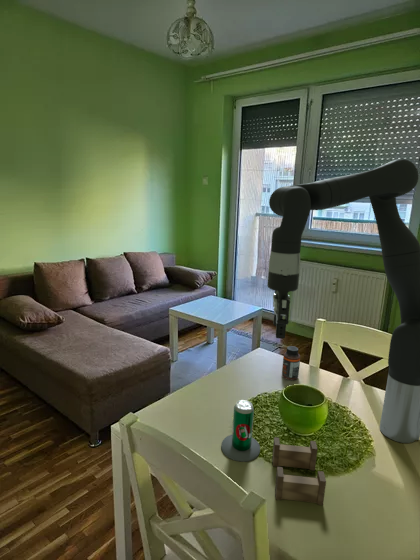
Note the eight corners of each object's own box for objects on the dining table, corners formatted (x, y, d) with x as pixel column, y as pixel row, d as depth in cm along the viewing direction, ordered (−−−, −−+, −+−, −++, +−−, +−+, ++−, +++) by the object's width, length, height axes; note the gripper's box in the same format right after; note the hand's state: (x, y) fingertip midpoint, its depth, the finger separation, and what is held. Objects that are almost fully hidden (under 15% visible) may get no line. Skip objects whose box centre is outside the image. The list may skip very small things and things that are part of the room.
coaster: (259, 437, 98) (259, 435, 98) (260, 463, 89) (260, 461, 88) (222, 433, 99) (222, 432, 99) (219, 459, 90) (220, 457, 89)
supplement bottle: (278, 373, 134) (281, 345, 131) (292, 372, 136) (295, 344, 133) (286, 381, 128) (289, 352, 126) (301, 379, 130) (304, 350, 127)
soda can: (238, 437, 97) (241, 397, 95) (254, 445, 94) (258, 404, 92) (227, 446, 93) (230, 405, 91) (244, 455, 90) (247, 413, 88)
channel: (312, 462, 90) (315, 441, 88) (323, 505, 77) (326, 481, 76) (272, 458, 91) (274, 437, 89) (275, 499, 78) (278, 476, 77)
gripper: (267, 263, 96) (263, 321, 100) (270, 275, 83) (265, 341, 86) (295, 265, 96) (290, 323, 99) (303, 277, 82) (297, 343, 86)
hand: (278, 331), depth 93 cm, fingers open, 8 cm apart
